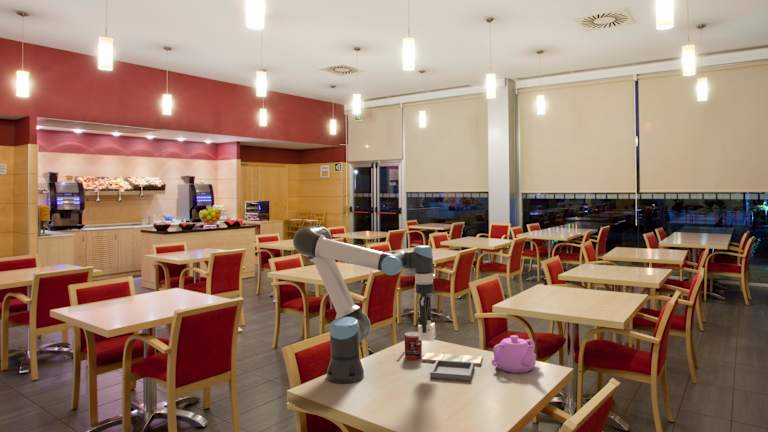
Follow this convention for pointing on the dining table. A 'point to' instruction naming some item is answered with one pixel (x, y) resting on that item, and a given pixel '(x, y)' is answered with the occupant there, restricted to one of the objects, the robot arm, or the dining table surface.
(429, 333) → the cream cube
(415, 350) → the canned food
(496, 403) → the dining table surface
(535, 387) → the dining table surface
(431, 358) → the board
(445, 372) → the dice tray
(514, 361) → the teapot
